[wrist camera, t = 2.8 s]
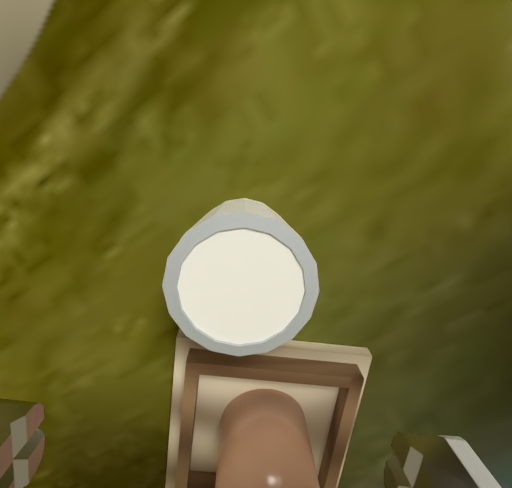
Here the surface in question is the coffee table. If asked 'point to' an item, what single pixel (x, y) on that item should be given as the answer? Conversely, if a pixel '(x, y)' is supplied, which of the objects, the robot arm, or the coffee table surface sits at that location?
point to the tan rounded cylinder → (264, 443)
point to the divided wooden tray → (262, 377)
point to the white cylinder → (241, 280)
